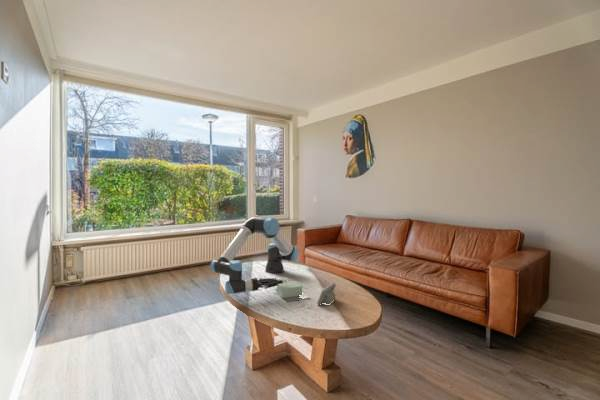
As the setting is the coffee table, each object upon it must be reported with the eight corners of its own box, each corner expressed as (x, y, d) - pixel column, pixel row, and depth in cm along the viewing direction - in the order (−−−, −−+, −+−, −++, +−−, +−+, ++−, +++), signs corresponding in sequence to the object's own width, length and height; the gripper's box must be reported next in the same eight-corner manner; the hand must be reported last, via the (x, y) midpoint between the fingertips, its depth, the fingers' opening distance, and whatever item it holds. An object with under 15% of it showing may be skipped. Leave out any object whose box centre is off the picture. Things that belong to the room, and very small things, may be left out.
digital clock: (328, 296, 186) (329, 280, 186) (340, 300, 180) (340, 284, 180) (312, 303, 175) (313, 286, 174) (324, 308, 168) (324, 291, 168)
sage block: (276, 292, 190) (295, 289, 195) (282, 298, 181) (302, 295, 186) (277, 283, 189) (296, 281, 195) (282, 288, 180) (302, 286, 186)
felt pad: (296, 286, 202) (296, 285, 202) (310, 298, 182) (310, 297, 182) (275, 289, 196) (275, 288, 196) (287, 302, 176) (287, 301, 176)
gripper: (248, 287, 183) (282, 282, 193) (253, 294, 171) (290, 289, 181) (248, 275, 182) (283, 271, 192) (254, 282, 171) (290, 278, 180)
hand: (286, 280), depth 186 cm, fingers closed
